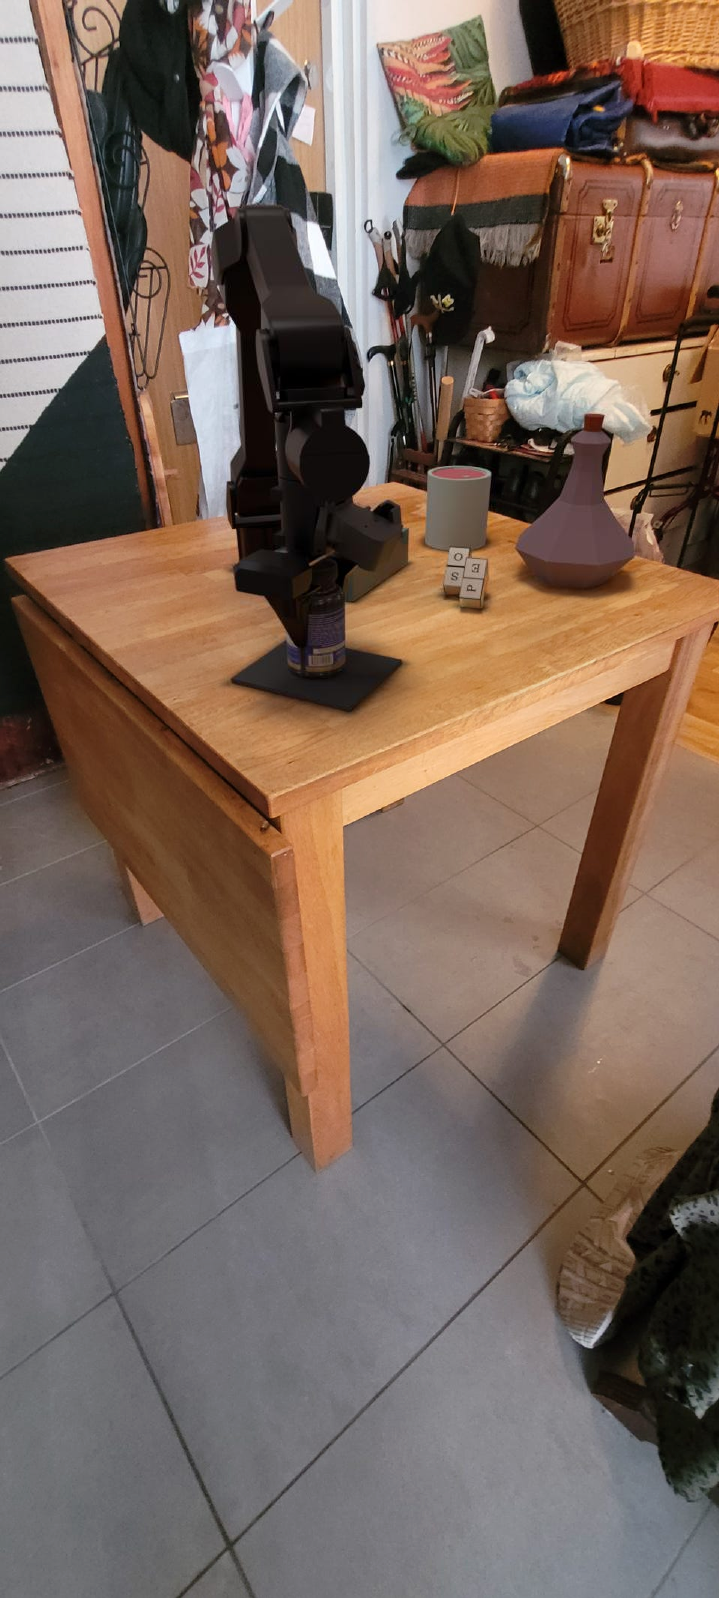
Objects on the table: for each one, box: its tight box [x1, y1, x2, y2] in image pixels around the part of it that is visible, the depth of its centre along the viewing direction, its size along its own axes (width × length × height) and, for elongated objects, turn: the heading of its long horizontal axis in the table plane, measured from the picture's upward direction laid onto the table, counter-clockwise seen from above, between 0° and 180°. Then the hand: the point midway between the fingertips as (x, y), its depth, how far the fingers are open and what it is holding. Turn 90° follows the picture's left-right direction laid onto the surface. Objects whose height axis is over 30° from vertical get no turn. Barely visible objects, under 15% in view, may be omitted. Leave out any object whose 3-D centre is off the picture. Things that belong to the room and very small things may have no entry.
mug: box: [424, 465, 492, 552], centre depth 117 cm, size 14×9×10 cm
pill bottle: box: [285, 558, 346, 678], centre depth 78 cm, size 6×6×11 cm
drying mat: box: [230, 640, 403, 712], centre depth 81 cm, size 14×12×1 cm
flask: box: [514, 412, 636, 590], centre depth 99 cm, size 16×16×20 cm
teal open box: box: [275, 527, 410, 603], centre depth 104 cm, size 12×17×5 cm
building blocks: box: [442, 546, 490, 609], centre depth 97 cm, size 5×5×8 cm
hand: (316, 635), depth 79 cm, fingers closed on pill bottle, 6 cm apart
